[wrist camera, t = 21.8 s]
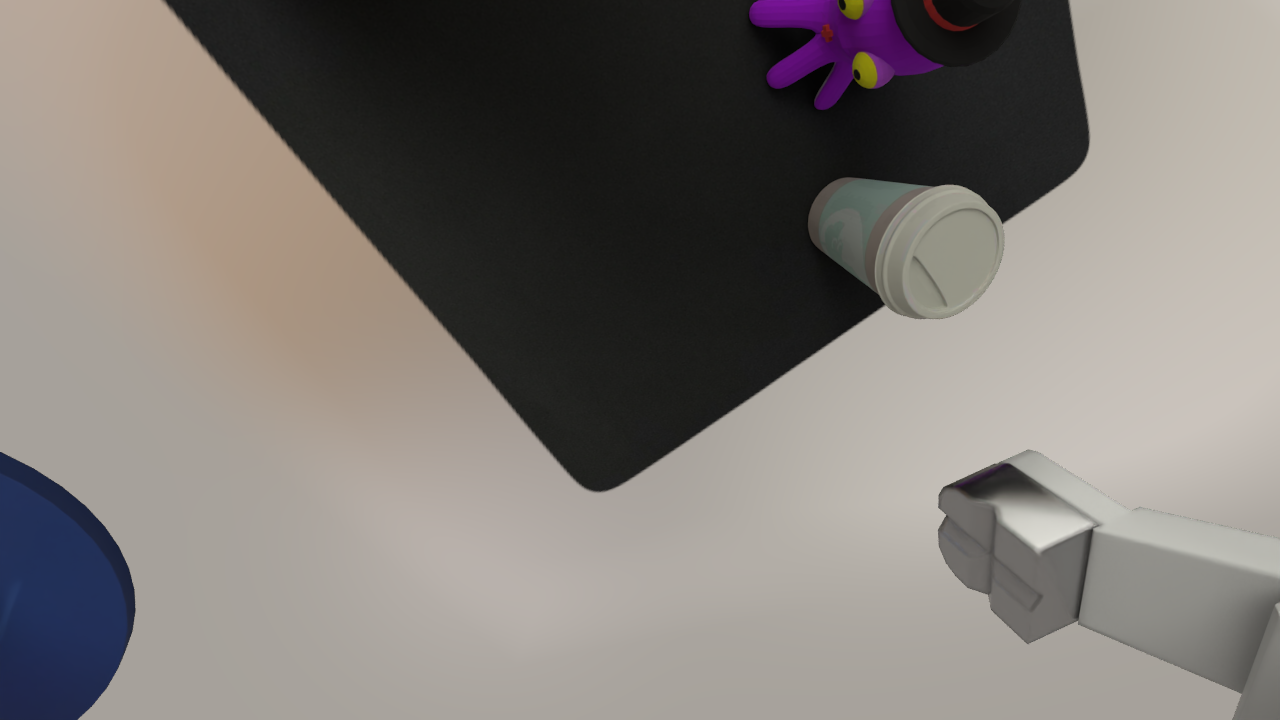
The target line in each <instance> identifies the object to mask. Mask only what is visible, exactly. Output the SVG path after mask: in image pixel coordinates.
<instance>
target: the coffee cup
mask: <svg viewBox="0 0 1280 720" xmlns="http://www.w3.org/2000/svg"><path fill="white" fill-rule="evenodd" d="M808 230H809V235H810V238H811V240H812V242H813V243H814V244H815V246H816V247H817V248H819V249H820V250H821V251H822V252H824V253H825V254H826V255H828V256H829V257H830V258H831V259H833V260H834V261H835V262H837V263H838V264H839V265H841V266H842V267H843V268H845V269H846V270H847V271H848V272H850V273H851V274H852V275H854V276H855V277H856V278H858V279H859V280H860V281H862V282H863V283H864V284H866V285H867V286H868V287H870V288H871V289H872V290H873V291H875V292H876V293H877V294H879V295H880V297H881V299H882V301H883V302H884V303H885V304H886V306H887V307H888V308H890V309H891V310H892V311H894V312H896V313H897V314H900V315H903V316H907V317H911V318H915V319H926V318H928V319H943V318H947V317H951V316H954V315H956V314H958V313H960V312H962V311H963V310H965V309H966V308H968V307H969V306H971V305H972V304H973V303H974V302H975V301H977V299H979V297H980V296H981V295H982V294H983V293H984V292H985V290H986V289H987V288H988V287H989V285H990V284H991V282H992V280H993V279H994V277H995V275H996V272H997V271H998V268H999V265H1000V263H1001V260H1002V256H1003V250H1004V230H1003V226H1002V223H1001V220H1000V218H999V216H998V215H997V213H996V212H995V211H994V210H993V209H992V208H991V207H989V206H988V204H987V203H986V202H985V201H984V200H983V199H982V198H981V197H980V196H979V195H977V194H976V193H974V192H972V191H970V190H969V189H967V188H964V187H962V186H957V185H942V186H937V187H929V186H921V185H912V184H904V183H895V182H887V181H879V180H870V179H861V178H851V177H847V178H841V179H838V180H836V181H834V182H832V183H830V184H829V185H827V186H826V187H825V188H824V189H823V190H822V191H821V192H820V193H819V194H818V196H817V197H816V199H815V201H814V202H813V205H812V207H811V210H810V213H809V218H808Z"/></svg>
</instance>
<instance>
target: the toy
mask: <svg viewBox="0 0 1280 720" xmlns="http://www.w3.org/2000/svg"><path fill="white" fill-rule="evenodd" d="M1021 1H1022V0H758V1H757V2H755V3H753V5H752V6H751V8H750V12H749V17H750V20H751V22H752V23H753V24H754V25H756V26H759V27H768V28H786V27H793V28H805V29H810V30H813V31H814V32H816V34H815V36H814V38H813V39H811V40H810V41H809V42H808V43H807V44H805V45H804V46H803V47H801V48H800V49H798V50H797V51H795V52H794V53H792V54H791V55H789V56H788V57H786V58H784V59H783V60H781V61H780V62H779V63H777V64H776V65H774V66H773V67H772V68H771V69H770V70H769V72H768V73H767V82H768V84H769V85H770V86H771V87H773V88H776V89H778V88H784V87H786V86H789V85H790V84H792V83H794V82H796V81H797V80H799V79H801V78H802V77H804V76H806V75H807V74H809V73H811V72H812V71H814V70H816V69H818V68H819V67H821V66H823V65H826V64H828V63H831V62H835V63H834V66H833V68H832V70H831V71H830V73H829V75H828V76H827V78H826V80H825V81H824V83H823V84H822V86H821V88H820V89H819V91H818V93H817V95H816V97H815V100H814V106H815V107H816V108H817V109H819V110H825V109H828V108H830V107H831V106H833V105H834V104H835V103H836V102H837V101H838V99H839V98H840V97H841V95H842V94H843V92H844V91H845V89H846V88H847V86H848V85H849V83H850V82H851V81H852V79H853V78H854V79H855V80H856V82H857V83H858V84H859V85H861V86H862V87H865V88H868V89H873V88H879V87H881V86H883V85H885V84H886V83H888V82H889V81H890V79H891V78H892V77H893V75H900V76H903V75H914V74H921V73H925V72H929V71H932V70H934V69H937V68H940V67H942V66H948V67H960V66H969V65H972V64H974V63H977V62H980V61H983V60H984V59H986V58H987V57H988V56H990V55H991V54H992V53H994V52H995V51H997V50H998V49H999V48H1000V46H1001V45H1002V44H1003V43H1004V41H1005V40H1006V39H1007V38H1008V36H1009V35H1010V33H1011V31H1012V29H1013V27H1014V25H1015V23H1016V21H1017V18H1018V15H1019V10H1020V5H1021Z"/></svg>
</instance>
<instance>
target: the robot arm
mask: <svg viewBox="0 0 1280 720" xmlns="http://www.w3.org/2000/svg"><path fill="white" fill-rule="evenodd" d="M938 505H939V506H938V508H939V509H941V510H942V511H943V512H944V513H945V514H946V517H945V519H944V520H943V522H942V524H941V526H940V527H939V529H938V538H939V548H940V550H941V552H942V555H943V557H944V559H945V562H946V564H947V565H948V566H949V568H950V569H951V570H952V572H953V573H954V574H955V576H956V577H957V578H958V579H959V580H960V581H961V582H962V583H963V584H964V585H965V586H967V588H970V589H973V590H976V591H979V592H982V593H985V594H988V597H989V602H990V607H991V610H992V611H993V612H994V613H995V614H996V615H997V616H998V617H999V618H1000V619H1001V620H1002V621H1003V622H1004V623H1006V624H1007V625H1008V626H1009V627H1010V628H1011V629H1012V630H1013V631H1014V632H1015V633H1016V634H1017V635H1018V636H1019V637H1021V638H1022V639H1023V640H1024V641H1025V642H1026V643H1027V644H1029V643H1031V642H1033V641H1035V640H1037V639H1040V638H1042V637H1044V636H1046V635H1048V634H1050V633H1052V632H1054V631H1057V630H1059V629H1061V628H1063V627H1065V626H1067V625H1070V624H1072V623H1074V622H1076V621H1078V625H1081V626H1083V627H1086V628H1088V629H1090V630H1093V631H1095V632H1097V633H1100V634H1102V635H1104V636H1107V637H1109V638H1112V639H1114V640H1116V641H1119V642H1121V643H1123V644H1126V645H1128V646H1130V647H1133V648H1135V649H1138V650H1140V651H1142V652H1145V653H1147V654H1149V655H1152V656H1154V657H1157V658H1159V659H1161V660H1164V661H1166V662H1168V663H1171V664H1173V665H1175V666H1178V667H1180V668H1182V669H1185V670H1187V671H1189V672H1192V673H1194V674H1196V675H1199V676H1201V677H1204V678H1206V679H1208V680H1211V681H1213V682H1215V683H1218V684H1220V685H1222V686H1225V687H1228V688H1230V689H1232V690H1234V691H1237V692H1239V693H1241V694H1242V695H1241V698H1240V701H1239V703H1238V706H1237V709H1236V711H1235V714H1234V717H1233V720H1280V538H1277V537H1272V536H1268V535H1263V534H1258V533H1254V532H1250V531H1245V530H1240V529H1236V528H1232V527H1227V526H1223V525H1218V524H1214V523H1209V522H1205V521H1200V520H1195V519H1191V518H1187V517H1182V516H1178V515H1173V514H1169V513H1164V512H1160V511H1155V510H1151V509H1146V508H1142V507H1139V508H1136V509H1134V510H1132V511H1131V510H1129V509H1128V508H1126V507H1125V506H1123V505H1121V504H1120V503H1118V502H1117V501H1115V500H1114V499H1112V498H1110V497H1109V496H1107V495H1106V494H1104V493H1103V492H1101V491H1099V490H1098V489H1096V488H1095V487H1093V486H1091V485H1090V484H1088V483H1086V482H1085V481H1084V480H1082V479H1080V478H1079V477H1077V476H1076V475H1074V474H1072V473H1071V472H1069V471H1068V470H1066V469H1064V468H1063V467H1062V466H1060V465H1058V464H1057V463H1055V462H1054V461H1052V460H1050V459H1049V458H1047V457H1046V456H1044V455H1042V454H1041V453H1039V452H1036V451H1032V450H1026V451H1024V452H1022V453H1019V454H1017V455H1015V456H1013V457H1010V458H1008V459H1006V460H1004V461H1001V462H999V463H998V464H993V465H991V466H989V467H986V468H984V469H982V470H980V471H978V472H975V473H973V474H971V475H969V476H967V477H965V478H963V479H960V480H958V481H956V482H954V483H951V484H949V485H947V486H945V487H943V489H942V490H941V492H940V494H939V504H938Z"/></svg>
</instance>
